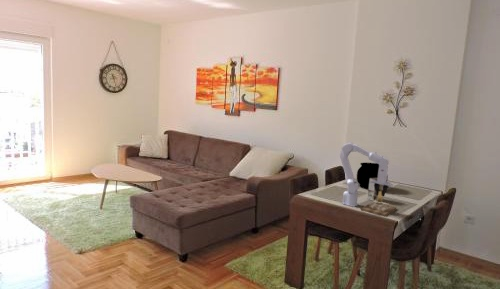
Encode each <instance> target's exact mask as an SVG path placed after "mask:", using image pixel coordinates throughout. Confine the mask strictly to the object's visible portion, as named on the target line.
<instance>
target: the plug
mask: <svg viewBox="0 0 500 289" xmlns="http://www.w3.org/2000/svg"><path fill="white" fill-rule="evenodd" d="M382 193H383V190H381V189H379V190H378V197H377V201H378V202H383V200H384V196H382Z"/></svg>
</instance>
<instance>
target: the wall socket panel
mask: <svg viewBox="0 0 500 289" xmlns="http://www.w3.org/2000/svg"><path fill="white" fill-rule="evenodd" d="M396 210H397V207H396V206H392V205H390V203H387V202H383V201H382V202H378V201H376V200H375V201H371V202H369V204H367V205H364V206H362V207H361V208H360V211H362V212H366V213H370V214H374V215H377V216H381V217H386V216H388V215H389V214H392V213H393V212H394V211H396Z"/></svg>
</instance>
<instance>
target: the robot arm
mask: <svg viewBox="0 0 500 289" xmlns="http://www.w3.org/2000/svg"><path fill="white" fill-rule="evenodd" d="M353 152H357V153H360V154H362V155H363V156H366V157H367V158H368V160H369V161H371V162H372V163H377V164H379V171H378V180H377V181H376V180H371V183H374V184H375V185H374V187H375V190H376V195H378V190H379V187H380V185H384V186H383V193H382V196H383V197H384V196H385V194H386V192H387V190H388V189H389V188H394V184H393V183H390V182H388V179H387V175H388V168H389V164H390V160H389V159H388V158H387V157H384V156H383V155H380V154H378V153H377V152H376V151H372V152H371V151H368V150H366V149H365V148H363V147H361V146H359V145H358V144H356V143H353V142H350V141H349V142H348V143H347V142H346V143H344V144H343V145H342V147H341V151H340V154H339V158H340V160H341V161H340V162H341V164H342V168H343V171H344V174H345V177H346V185H347V188H346V189H347V190H344V192H343V196H342V205H346V206H350V207H354V208H355V207H357V206H359V205H360V203H358V199H359V198H358V195H359V191H358V190H359V189H360V188H359V187H360V186H359V185H360V184H359V183H358V181H357V179H356V178H355V176H354V172H353V169H352V166H351V163H350V160H349V155H350V153H353ZM386 181H387V182H386Z"/></svg>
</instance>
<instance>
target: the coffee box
mask: <svg viewBox="0 0 500 289" xmlns="http://www.w3.org/2000/svg"><path fill="white" fill-rule="evenodd" d="M371 180H376V181H377V180H378V178H370V181H369V189H367V190H368V191H367V199H368V200H369V201H371V202H373V201H375V200H376V201H377V197H378V195H376V190H375V187H374V185H375V184H374V183H371ZM383 186H384V185H380V187H379V189H381V190H383Z"/></svg>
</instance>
